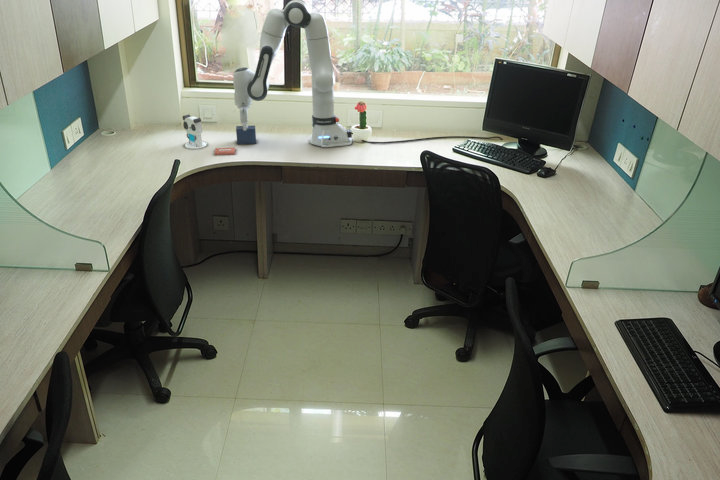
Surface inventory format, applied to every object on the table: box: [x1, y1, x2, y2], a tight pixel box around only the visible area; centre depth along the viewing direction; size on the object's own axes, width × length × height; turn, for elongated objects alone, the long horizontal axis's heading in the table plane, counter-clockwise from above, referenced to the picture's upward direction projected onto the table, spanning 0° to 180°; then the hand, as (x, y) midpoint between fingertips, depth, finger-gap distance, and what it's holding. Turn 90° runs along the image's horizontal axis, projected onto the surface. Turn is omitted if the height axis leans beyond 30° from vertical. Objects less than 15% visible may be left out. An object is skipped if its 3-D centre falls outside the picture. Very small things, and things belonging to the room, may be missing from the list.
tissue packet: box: [214, 147, 236, 156], centre depth 316 cm, size 10×7×1 cm
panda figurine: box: [182, 114, 208, 150], centre depth 322 cm, size 12×11×15 cm
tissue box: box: [235, 124, 257, 145], centre depth 328 cm, size 10×6×9 cm, turn 97°
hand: (244, 127), depth 326 cm, fingers open, 8 cm apart
